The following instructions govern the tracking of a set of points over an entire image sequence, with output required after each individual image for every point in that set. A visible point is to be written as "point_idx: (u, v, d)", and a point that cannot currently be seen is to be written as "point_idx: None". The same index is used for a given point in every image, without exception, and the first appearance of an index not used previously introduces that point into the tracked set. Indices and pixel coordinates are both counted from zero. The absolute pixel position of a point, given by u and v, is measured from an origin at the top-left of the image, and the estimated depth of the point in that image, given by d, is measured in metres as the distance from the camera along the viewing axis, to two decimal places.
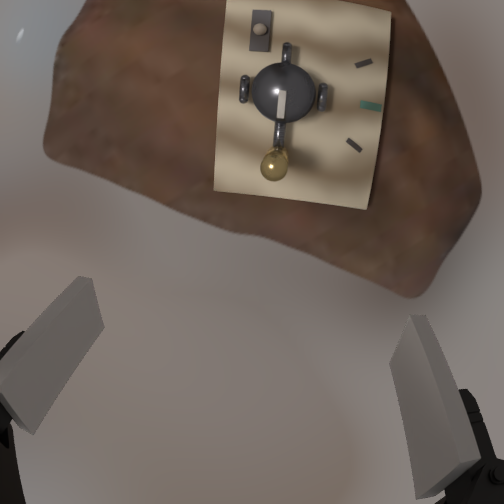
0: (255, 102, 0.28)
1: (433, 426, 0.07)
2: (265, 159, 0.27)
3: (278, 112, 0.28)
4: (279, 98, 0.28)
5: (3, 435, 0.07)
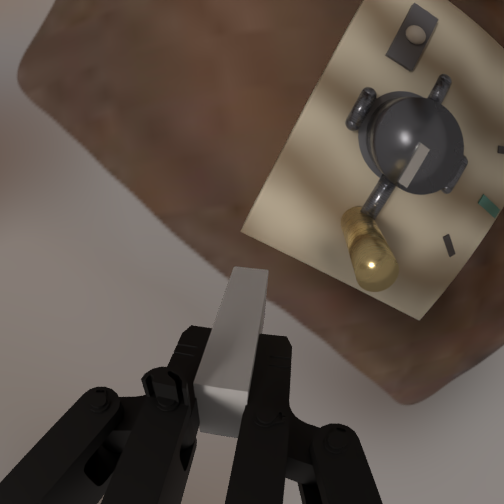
0: (378, 142, 0.16)
1: None
2: (373, 255, 0.15)
3: (404, 175, 0.17)
4: (415, 155, 0.16)
5: (184, 452, 0.08)
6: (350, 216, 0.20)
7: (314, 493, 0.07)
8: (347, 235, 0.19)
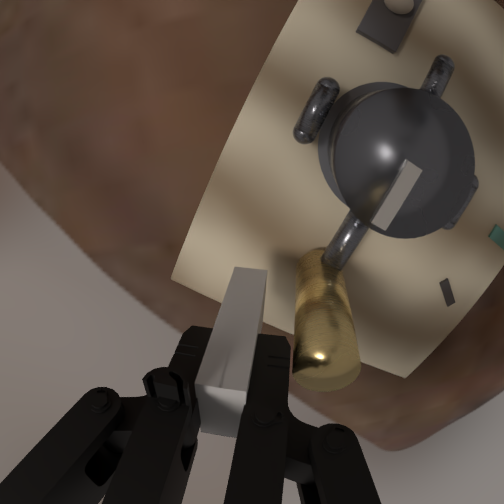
0: (339, 162, 0.11)
1: None
2: (318, 350, 0.10)
3: (380, 211, 0.11)
4: (399, 180, 0.11)
5: (184, 452, 0.08)
6: (305, 266, 0.15)
7: (313, 493, 0.07)
8: (296, 298, 0.14)
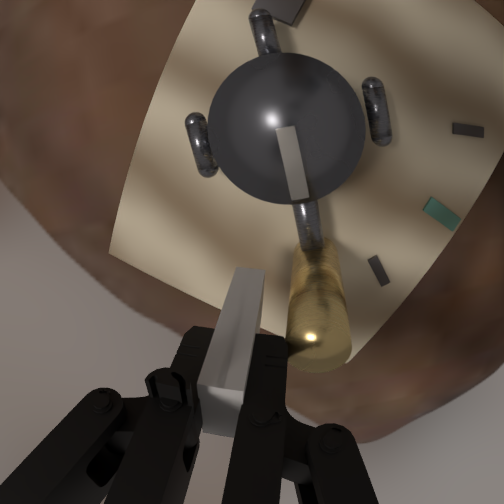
0: (230, 176, 0.12)
1: None
2: (292, 338, 0.10)
3: (292, 185, 0.12)
4: (283, 150, 0.11)
5: (186, 452, 0.08)
6: (293, 263, 0.16)
7: (311, 493, 0.07)
8: None
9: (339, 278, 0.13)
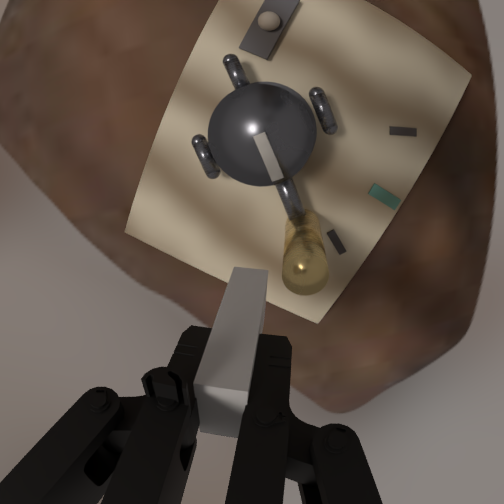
0: (229, 173, 0.18)
1: None
2: (285, 268, 0.16)
3: (270, 171, 0.18)
4: (260, 149, 0.17)
5: (183, 452, 0.08)
6: None
7: (314, 493, 0.07)
8: None
9: (317, 231, 0.19)
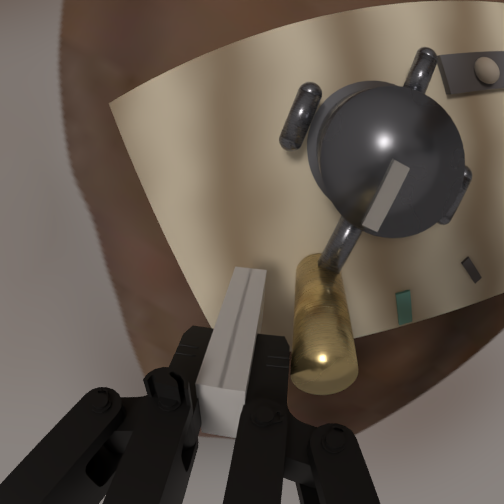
0: (324, 168, 0.11)
1: None
2: (314, 355, 0.10)
3: (371, 213, 0.11)
4: (387, 181, 0.11)
5: (185, 452, 0.08)
6: (303, 271, 0.15)
7: (312, 493, 0.07)
8: (294, 304, 0.14)
9: None
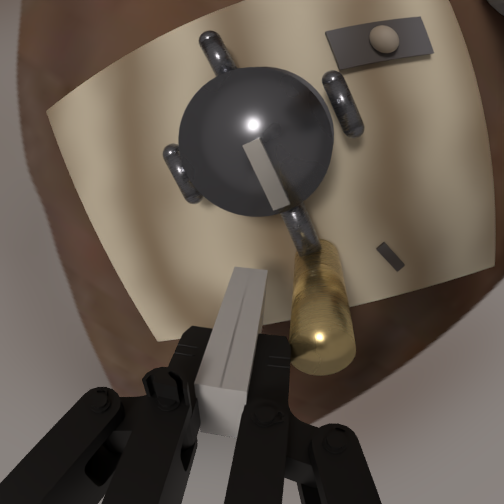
0: (211, 198, 0.13)
1: None
2: (293, 345, 0.11)
3: (270, 196, 0.12)
4: (254, 164, 0.12)
5: (184, 452, 0.08)
6: None
7: (313, 494, 0.07)
8: None
9: (338, 277, 0.13)
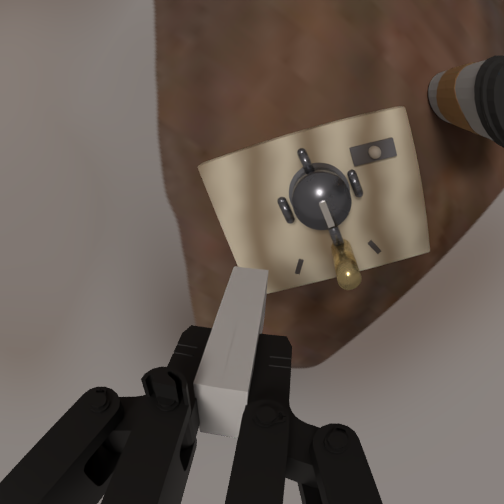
0: (304, 223, 0.32)
1: None
2: (339, 276, 0.30)
3: (327, 222, 0.32)
4: (322, 210, 0.31)
5: (184, 452, 0.08)
6: (332, 252, 0.35)
7: (314, 493, 0.07)
8: None
9: (352, 254, 0.33)
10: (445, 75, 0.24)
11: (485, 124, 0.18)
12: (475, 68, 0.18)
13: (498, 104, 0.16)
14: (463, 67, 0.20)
